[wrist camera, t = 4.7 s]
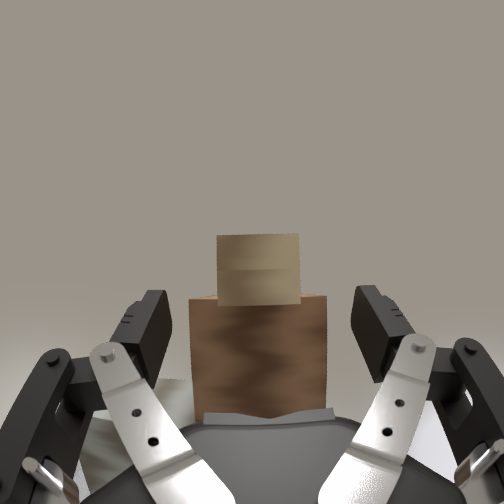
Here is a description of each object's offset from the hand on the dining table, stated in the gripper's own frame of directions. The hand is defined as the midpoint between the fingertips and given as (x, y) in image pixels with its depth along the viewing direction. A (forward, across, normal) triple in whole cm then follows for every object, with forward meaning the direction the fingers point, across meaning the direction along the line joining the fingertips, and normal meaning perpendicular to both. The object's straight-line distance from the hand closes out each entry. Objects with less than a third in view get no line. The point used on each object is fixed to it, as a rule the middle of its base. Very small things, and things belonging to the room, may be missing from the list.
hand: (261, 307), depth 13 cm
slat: (+10, 0, +6) cm, 12 cm away
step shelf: (-2, +6, +35) cm, 35 cm away
